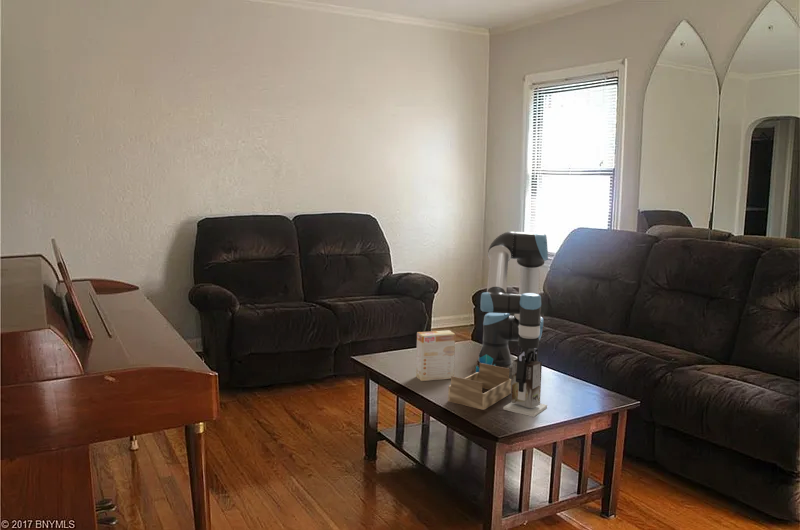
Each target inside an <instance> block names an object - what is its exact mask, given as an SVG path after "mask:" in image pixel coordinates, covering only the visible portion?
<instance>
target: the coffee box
mask: <svg viewBox="0 0 800 530" xmlns="http://www.w3.org/2000/svg"><path fill="white" fill-rule="evenodd" d="M542 364H543V362H541V361H530V364H525V366H527V372H526V380H525V383H526V399H525V401H523V400H519V399H518V383H519V382H516V372H517V358H516V359H515V360H512V370H511V371H512V372H511V375H512V376H511V398H510V399H511V401H510V402H512V403H515V404H519V405H522V406H526V407H529V408H534V407H536V406H538V405H540V403H541V391H542V389H541V388H542V387H541V386H542V368H543V367H542Z"/></svg>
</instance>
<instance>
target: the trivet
mask: <svg viewBox="0 0 800 530" xmlns="http://www.w3.org/2000/svg"><path fill="white" fill-rule="evenodd" d="M547 408H548V404H545V403H544V404H543V403H541V402H540V405H538V406H536V407H534V408H529V407H526V406H522V405H519V404H515V403H512V402H511V401H510V402H509V403H507V404H505V405H504V406H503V409H502V410H504V411H506V412H507V411H509V412H513V413H516V414H521V415H525V416H527V417H528V416H530V417H533V418H535V417H536V416H537V415H539V414H541V413H542V412H543V411H544V410H546V409H547Z"/></svg>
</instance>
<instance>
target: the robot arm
mask: <svg viewBox="0 0 800 530" xmlns="http://www.w3.org/2000/svg"><path fill="white" fill-rule="evenodd" d="M547 239H548V237H547V235H546V234H545V233H544V232H537V231H533V232H531V231H530V232H529V231H507V232H502V233H501V234H499V235H498V236H496V237H495V239H493V241H492V242H491V243H490V244H489V247H488V251H487V252H488V253H487V256H488V257H487V258H488V259H489V266H488V275H487V276H488V277H487V287H486V292H482V293H481V294H480V308H479V309H480V311H482V312H483V313H484V312H485V315H484V317H483V322H482V325H483V330H482V331H483V332H482V345H481V349H480V351H479V353H478V357H477V358H478V359H477V361H478V363H480V360H479V358H480V357H482V356H484V355H486V354H487V355H488V356H490V357H491V358H493V363H492V365H494V364H495V366H499V367H505V366H509V365H511V364H512V356H511V352H510V348H509V342H517V346H518V347H520V348H521V351H520V354H517V356H516V359H517V372H516V382H519V383H518V399H519V400H523V401H525V399H526V383H525V380H526V372H527V366H525V364H530V361H538V360H539V359H538V358H539V356H538V355H539V346H540V341H541V338H542V334H543V327H544V317H542V316H541V312H542V296H541V294H540V293H539V292H540V279H541V268H542V267H543V266H544V264H545V261H548V260H549V251H548V240H547ZM511 259H512V260H516V263H517V265H519V267H520V268H519V283H518V284H519V286H518V293H507V289H508V287H507V286H508V270H509V262H510V260H511ZM538 362H539V361H538Z"/></svg>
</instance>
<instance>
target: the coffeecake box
mask: <svg viewBox="0 0 800 530" xmlns="http://www.w3.org/2000/svg"><path fill="white" fill-rule="evenodd" d="M455 345H456V333H454V332H453V331H451V330H449V329H448V330H433V331H417V332H416V359H415V360H416V364H415V365H416V366H415V377H416V378H417V379H418V380H419V381H420V382H425V381H429V382H430V381H437V380H438V381H439V380H440V381H441V380H451V376H454V377H455V357H456V356H455V355H456V354H455V353H456V351H455V350H456V346H455Z"/></svg>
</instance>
